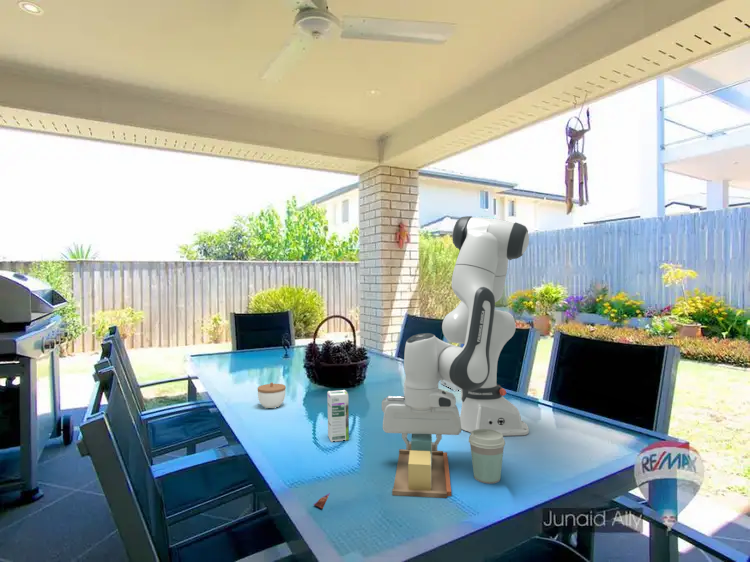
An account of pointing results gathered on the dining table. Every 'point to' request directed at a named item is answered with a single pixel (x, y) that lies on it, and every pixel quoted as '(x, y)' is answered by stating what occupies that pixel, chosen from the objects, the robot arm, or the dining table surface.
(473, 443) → the coffee cup
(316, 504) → the snack package
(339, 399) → the syrup box
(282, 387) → the lidded jar
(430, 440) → the teal box
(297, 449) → the dining table surface
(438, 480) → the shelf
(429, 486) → the ochre box
